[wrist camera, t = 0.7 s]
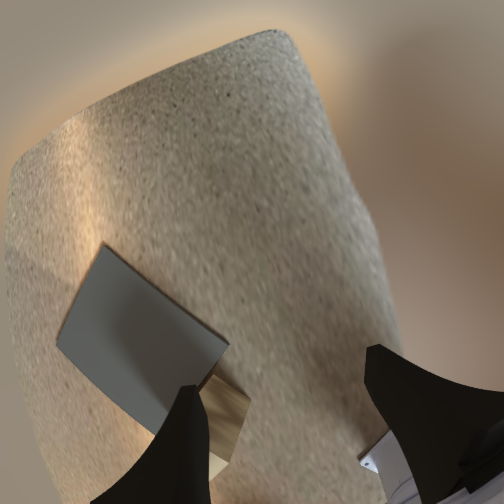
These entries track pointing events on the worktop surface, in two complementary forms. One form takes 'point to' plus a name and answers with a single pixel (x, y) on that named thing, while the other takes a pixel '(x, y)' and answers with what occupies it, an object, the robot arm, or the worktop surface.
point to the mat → (136, 341)
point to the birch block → (222, 420)
